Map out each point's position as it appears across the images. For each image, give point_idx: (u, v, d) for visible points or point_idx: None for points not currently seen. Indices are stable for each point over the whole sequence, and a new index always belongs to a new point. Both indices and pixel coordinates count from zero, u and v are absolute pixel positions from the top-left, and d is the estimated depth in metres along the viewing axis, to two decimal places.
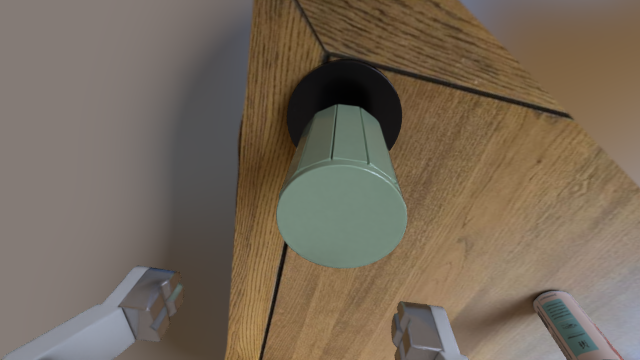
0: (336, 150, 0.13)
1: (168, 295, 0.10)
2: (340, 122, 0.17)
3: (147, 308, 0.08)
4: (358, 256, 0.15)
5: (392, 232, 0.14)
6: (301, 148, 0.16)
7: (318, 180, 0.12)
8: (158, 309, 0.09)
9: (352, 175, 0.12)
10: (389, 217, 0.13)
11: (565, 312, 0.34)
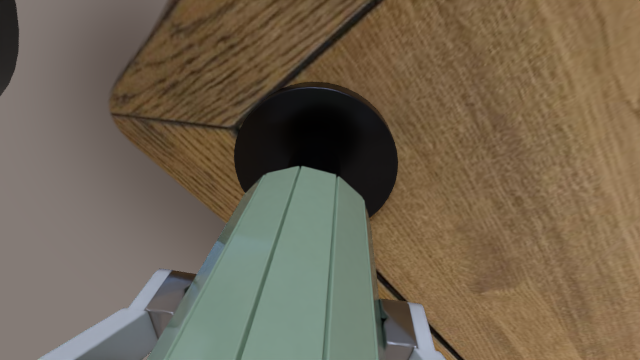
0: None
1: None
2: (211, 252, 0.10)
3: (173, 312, 0.08)
4: None
5: None
6: None
7: None
8: None
9: None
10: None
11: None
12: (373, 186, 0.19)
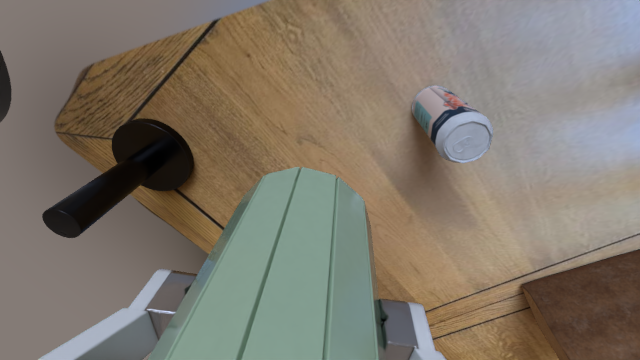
0: None
1: None
2: (211, 253, 0.10)
3: (174, 312, 0.08)
4: None
5: None
6: None
7: None
8: None
9: None
10: None
11: (419, 109, 0.31)
12: (179, 166, 0.40)
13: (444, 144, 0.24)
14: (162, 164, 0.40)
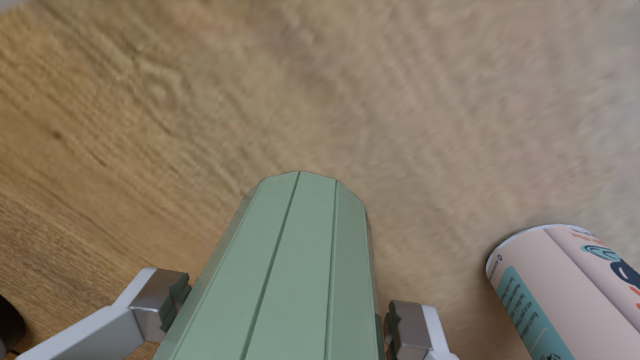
0: None
1: (176, 296, 0.10)
2: (210, 259, 0.10)
3: (157, 310, 0.08)
4: None
5: None
6: None
7: None
8: (167, 310, 0.09)
9: None
10: None
11: (528, 312, 0.10)
12: None
13: None
14: None
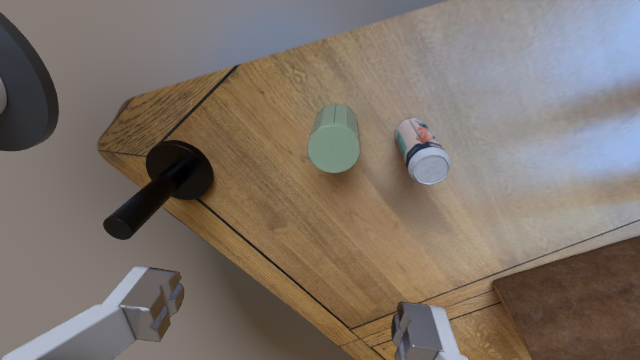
0: (312, 132, 0.34)
1: (168, 295, 0.10)
2: (316, 120, 0.38)
3: (147, 308, 0.08)
4: (352, 155, 0.34)
5: (350, 137, 0.33)
6: None
7: (313, 145, 0.34)
8: (158, 309, 0.09)
9: (318, 134, 0.33)
10: (342, 134, 0.33)
11: (399, 138, 0.39)
12: (202, 179, 0.47)
13: (414, 170, 0.32)
14: (187, 178, 0.48)
